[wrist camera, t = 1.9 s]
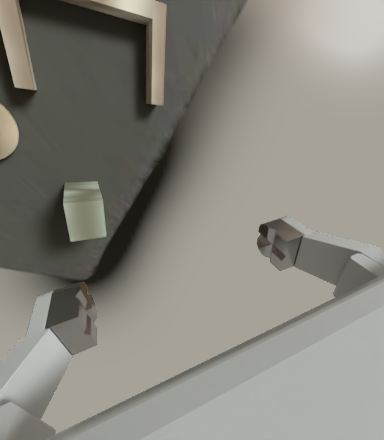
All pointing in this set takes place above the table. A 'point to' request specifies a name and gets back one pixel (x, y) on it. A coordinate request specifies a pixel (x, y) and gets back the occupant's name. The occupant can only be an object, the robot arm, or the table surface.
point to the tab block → (84, 211)
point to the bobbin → (7, 133)
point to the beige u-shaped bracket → (106, 3)
